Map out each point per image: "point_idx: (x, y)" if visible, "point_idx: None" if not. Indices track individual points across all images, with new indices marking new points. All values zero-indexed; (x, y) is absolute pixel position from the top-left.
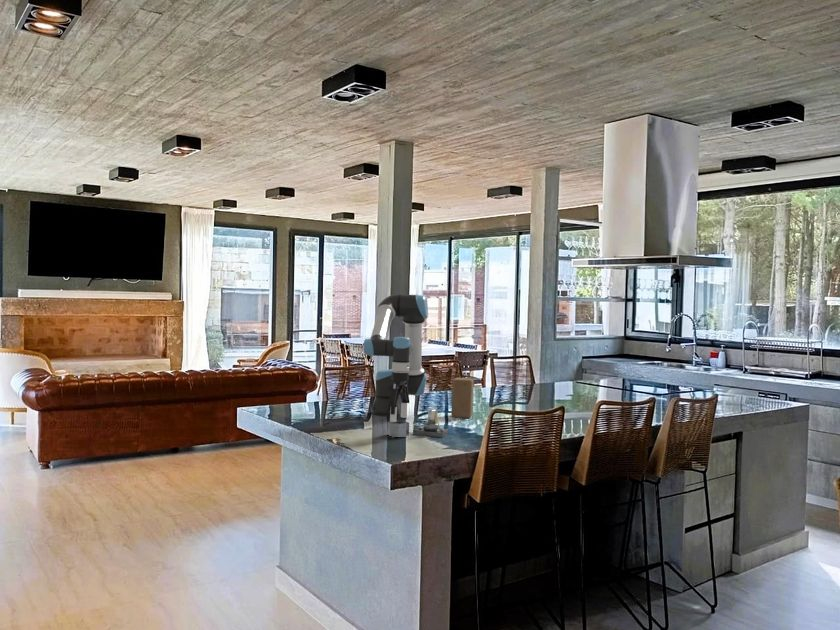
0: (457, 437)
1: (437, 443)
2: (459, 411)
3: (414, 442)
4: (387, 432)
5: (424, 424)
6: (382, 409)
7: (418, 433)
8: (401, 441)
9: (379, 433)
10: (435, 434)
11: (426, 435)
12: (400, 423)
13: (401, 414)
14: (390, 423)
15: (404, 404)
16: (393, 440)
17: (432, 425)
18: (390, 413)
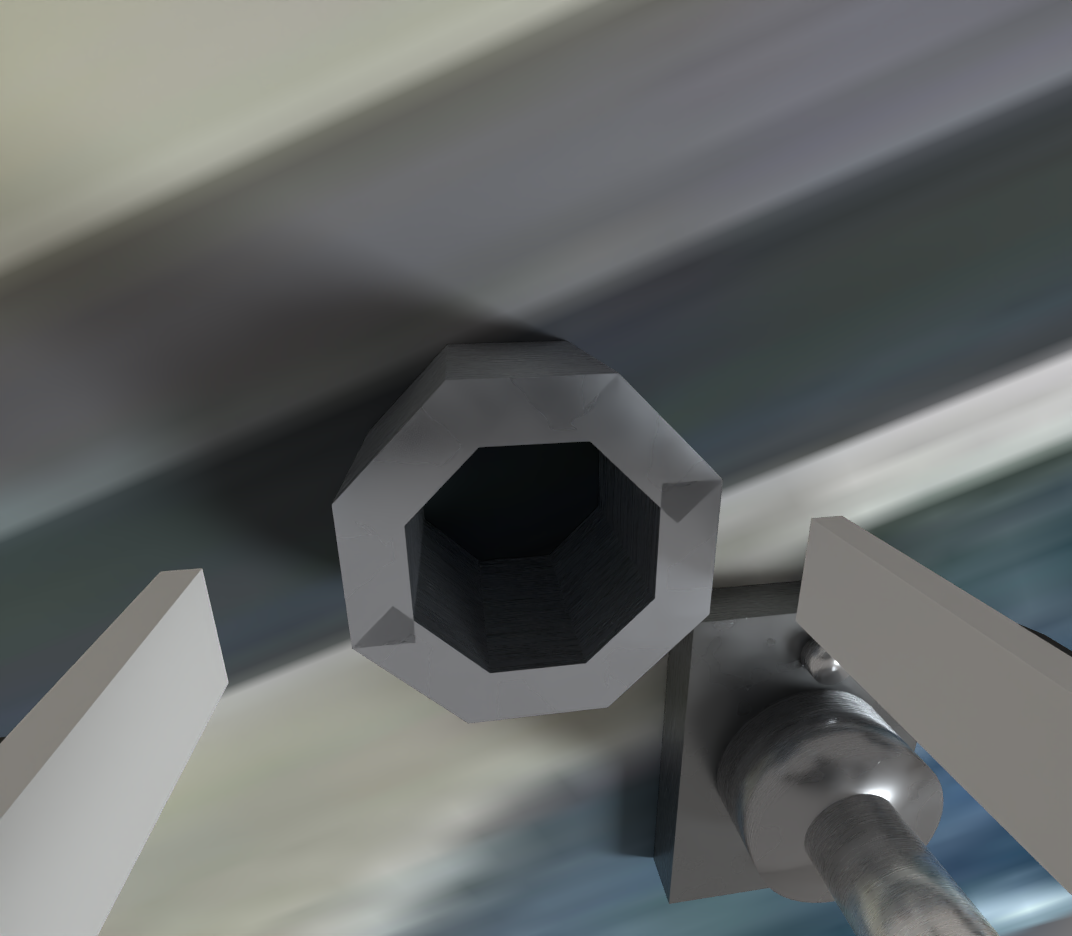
0: (724, 927)
1: (368, 924)
2: None
3: (262, 768)
4: (436, 361)
5: (789, 772)
6: None
7: (676, 661)
8: None
9: (536, 174)
10: (667, 824)
11: (665, 730)
12: (644, 534)
13: (849, 560)
14: (347, 487)
15: (1053, 801)
16: (196, 548)
17: (755, 863)
18: (43, 706)
